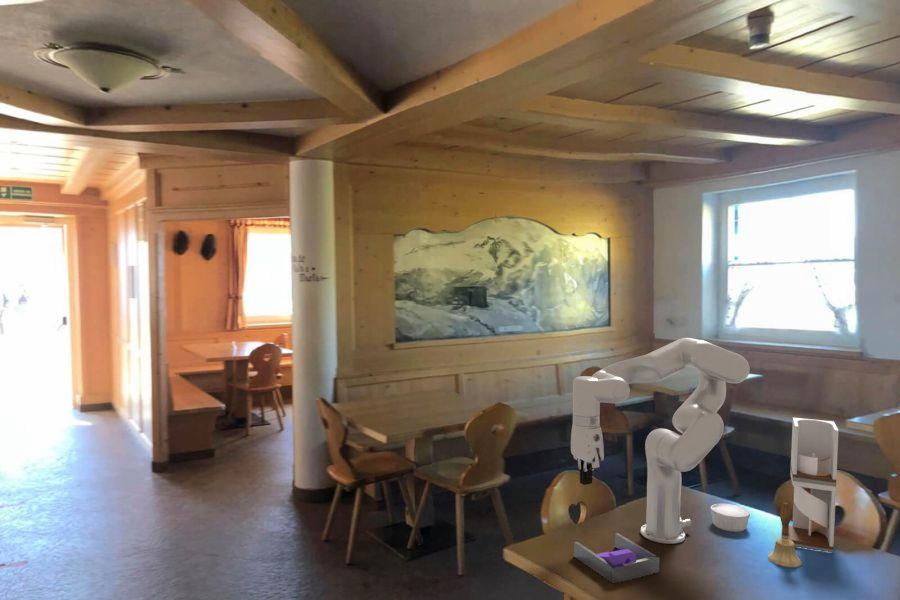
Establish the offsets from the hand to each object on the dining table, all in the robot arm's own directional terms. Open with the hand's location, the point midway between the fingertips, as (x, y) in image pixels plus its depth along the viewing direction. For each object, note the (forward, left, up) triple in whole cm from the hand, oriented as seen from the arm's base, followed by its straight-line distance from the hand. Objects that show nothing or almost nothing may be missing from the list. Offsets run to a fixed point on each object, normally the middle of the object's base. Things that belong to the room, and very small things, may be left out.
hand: (586, 483), depth 185 cm
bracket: (+3, +15, -18) cm, 24 cm away
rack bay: (0, +14, -18) cm, 22 cm away
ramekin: (-49, +8, -18) cm, 52 cm away
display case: (-61, +26, -18) cm, 68 cm away
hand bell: (-44, +31, -18) cm, 56 cm away
